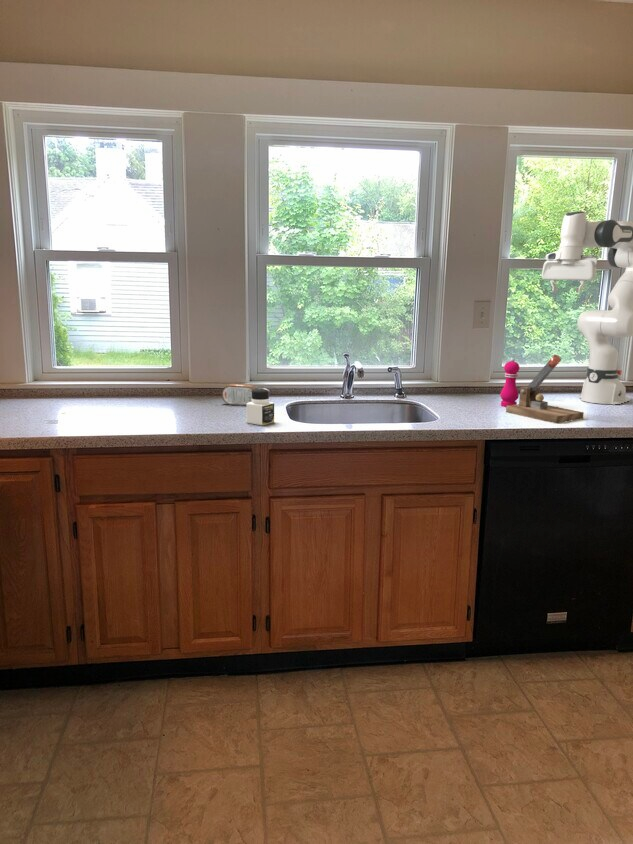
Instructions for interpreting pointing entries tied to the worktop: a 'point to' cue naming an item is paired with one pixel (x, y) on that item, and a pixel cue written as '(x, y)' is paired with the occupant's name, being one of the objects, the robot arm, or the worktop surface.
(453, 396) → the worktop surface
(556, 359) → the lever
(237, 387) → the tin
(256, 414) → the medicine bottle
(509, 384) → the pepper mill
